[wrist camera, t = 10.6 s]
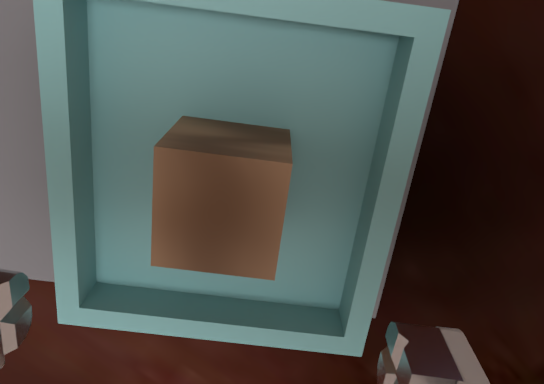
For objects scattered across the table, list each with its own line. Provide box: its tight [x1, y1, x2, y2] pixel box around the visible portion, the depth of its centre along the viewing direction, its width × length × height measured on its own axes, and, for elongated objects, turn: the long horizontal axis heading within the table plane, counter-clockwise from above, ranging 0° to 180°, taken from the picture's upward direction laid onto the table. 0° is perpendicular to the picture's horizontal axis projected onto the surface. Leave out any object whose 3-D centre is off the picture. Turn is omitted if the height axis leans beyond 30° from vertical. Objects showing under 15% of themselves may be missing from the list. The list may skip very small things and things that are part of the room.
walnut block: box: [151, 116, 293, 281], centre depth 17 cm, size 4×4×4 cm
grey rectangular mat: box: [0, 0, 459, 318], centre depth 22 cm, size 32×18×1 cm, turn 83°
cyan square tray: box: [33, 0, 451, 357], centre depth 19 cm, size 14×15×5 cm
